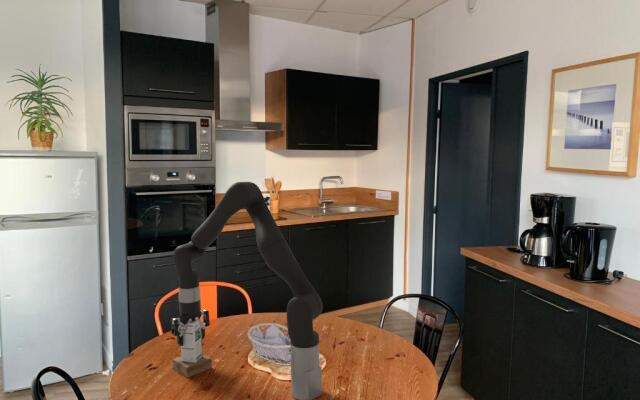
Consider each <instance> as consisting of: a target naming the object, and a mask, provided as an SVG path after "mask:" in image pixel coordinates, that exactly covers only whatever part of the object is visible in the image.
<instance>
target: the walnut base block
mask: <svg viewBox="0 0 640 400" xmlns="http://www.w3.org/2000/svg"><path fill="white" fill-rule="evenodd" d="M212 359H213V358H212V357H210V356H208V355H206V354H204V353H203V356H202V357H201V358H200V359H199V360H198V361H197V362H196V363H192V362H183V361H182V358H181V356H177V357H174V358H172V369H173V370H175V371H176V372H178V373H179V374H181V375H182V376H184V377H185V378H190V377H193V376H195V375H198V374H200V373H203V372H205V371H207V370H210V369H212V368H213V365H212V363H213V362H212V361H213V360H212Z"/></svg>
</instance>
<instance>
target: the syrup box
mask: <svg viewBox="0 0 640 400" xmlns="http://www.w3.org/2000/svg"><path fill="white" fill-rule="evenodd" d="M200 320H201V321H202V318H200ZM179 325H180V327H184V324H183V323H181V322H179ZM180 331H181V329H180ZM182 336H183V346H180V355H181V358H182V361H183V362H192V363H196V362H197V361H198V360H199V359H200V358H201V357H202V356H203V354H204V352H203V339H202V327H201V326H200V324H199V321H191V323H188V327H187V329H186V331H184V333H183V335H182Z"/></svg>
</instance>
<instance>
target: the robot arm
mask: <svg viewBox="0 0 640 400" xmlns="http://www.w3.org/2000/svg"><path fill="white" fill-rule="evenodd" d="M241 210H245V211H246V212H247V213H248V216H249V217H250V219H251V220H252V223H253V226H254V230H255V238H256V239H255V240H256V244H257V249H258V251H259V252H260V255H261V256H262V258H263V261H264V262H265V264H266V265H267V266H268V268H270V270H271V271H272V272H273V273H275V274H276V275H277V276H279V277H280V278H281V279H282V280H283V281H284V282H285V283H286V284H287V286H288V287H289V289H290V291H291V292H292V294H293V296H294V297H292V298H291V299H290V300H289V301H288V302H287V306H286V323H287V324H286V326H287V327H286V328H287V333H288V337H289V340H290V388H291V390H290V391H291V393H290V395H291V396H292V397H293V399H296V400H315V399H316V398H318V397H320V396H322V395H323V393H322V392H323V389H322V388H323V386H322V385H323V383H322V382H323V377H322V375H323V374H322V369H323V368H322V366H321V365H320V335H319V333H318V332H317V331H315V330H314V325H313V323H314V320H316V319H317V318H318V317H319V316H321V314H322V312H323V307H324V305H323V301H322V299H321V297H320V295H319V294H318V291H316V289H315V288H314V286H313V285H312V283H311V281H310V280H309V279H308V277H307V276H306V274H305V273H304V271H303V269H302V267H301V266H300V264H299V262H298V260H297V259H296V257H295V256H294V255H295V254H294V253H293V251H292V249H291V247H290V245H289V244H288V242H287V240H286V238H285V237H284V235H283V233H282V232H281V229H280V228H279V227H278V226H279V225H278V224H277V222H276V221H275V219H274V217H273V215H272V213H271V211H270V209H269V207H268V204H267V202H266V199H265V197H264V194H263V192H262V191H261V188H260V187H259V186H258V185H257V184H256V183H255V182H253V181H236V182H235V183H232V184H230V186H229V187H228V188H227V190H226V191H225V193H224V194H223V196H222V198H221V199H220V200H219V202H218V203H217V204H216V206H215V207H214V209H213V211H212V212H210V214H209V216H208V217H207V218H206V219H204V221H203V222H202V224H201V225H199V227H198V228H196V230H194V232H193V234H192V235H191V240H190V241H189V242H188V243H187V242H186V243H185V244H181V245H179V246H177V247H176V248H175V249H174V251H173V253H172V254H173V255H172V257H173V258H172V259H173V263H174V267H175V270H176V273H177V275H178V305H179V306H178V309H179V316H178V317H176V318H175V317H173V318H171V321H170V323H171V324H170V325H171V326H170V330H171V331H170V334H171V335H172V336H173V337H176V343H177V345H178V346H180V347H181V346H183V336H182V335H183V333H184V331H186V329H187V327H188V323H191V321H199V324H200V326H201V327H202V340H205V337H206V328H207V327H209V326H210V325H211V323H210V322H211V321H210V311H209V310H208V309H206V308H205V309H202V306H201V305H202V303H201V302H202V301H201V289H200V275H199V271H198V270H197V269H195V268H193V267H192V263H195V262H197V261H198V260H200V258H202V257H203V256H204V254H205V253H206V251H207V250H208V248H209V246H210V245H212V244H213V243H214V242H215V241H216V239H218V237H219V236H220V235H221V233H222V232H223V230H224V227H225V225H226V223H227V222H228V221H229V220H230V218H231V217H232V216H233V215H235V214H237V212H239V211H241ZM201 317H202V319H201ZM200 319H201V320H200ZM202 321H203V322H202ZM180 323H183V324H184V327H180ZM180 329H181V331H180Z"/></svg>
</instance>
